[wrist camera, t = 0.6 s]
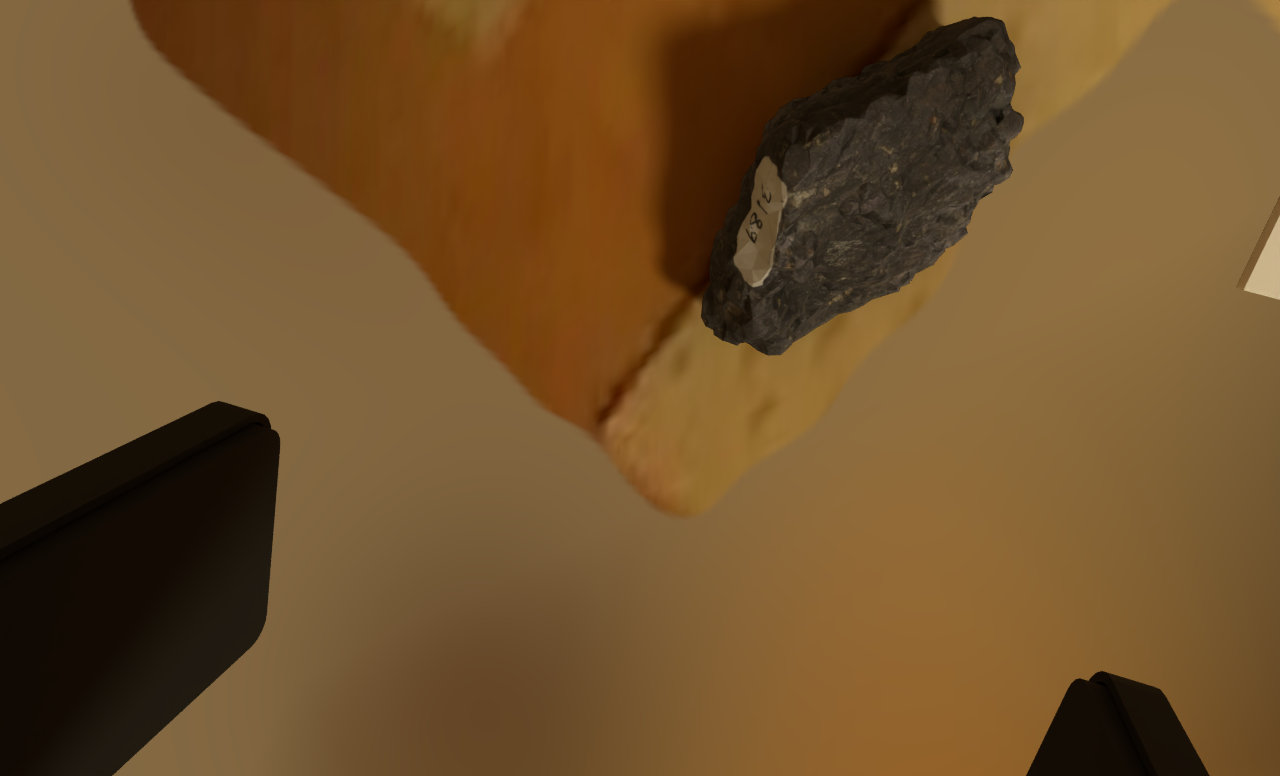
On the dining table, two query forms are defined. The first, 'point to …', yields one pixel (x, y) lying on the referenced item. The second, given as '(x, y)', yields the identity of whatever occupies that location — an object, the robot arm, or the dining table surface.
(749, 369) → the dining table surface
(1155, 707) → the robot arm
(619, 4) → the dining table surface
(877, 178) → the rock
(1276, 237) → the cream board with squares
